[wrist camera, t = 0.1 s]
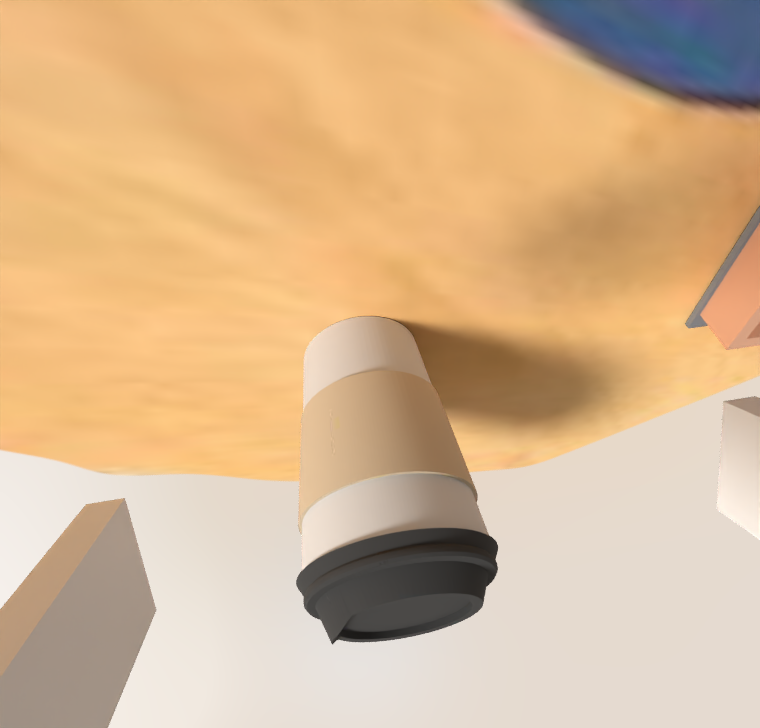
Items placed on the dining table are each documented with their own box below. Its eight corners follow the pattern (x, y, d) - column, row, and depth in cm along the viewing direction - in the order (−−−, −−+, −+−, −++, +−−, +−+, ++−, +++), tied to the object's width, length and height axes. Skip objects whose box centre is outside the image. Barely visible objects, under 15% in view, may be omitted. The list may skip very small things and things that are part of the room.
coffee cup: (455, 306, 29) (554, 584, 20) (412, 402, 36) (470, 644, 26) (291, 297, 27) (315, 610, 17) (277, 402, 33) (289, 668, 24)
